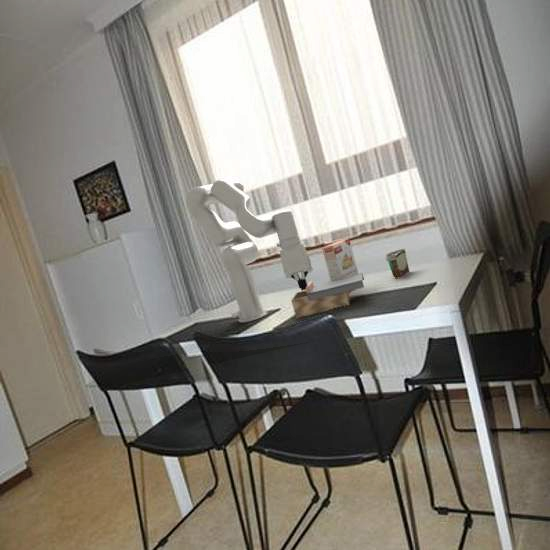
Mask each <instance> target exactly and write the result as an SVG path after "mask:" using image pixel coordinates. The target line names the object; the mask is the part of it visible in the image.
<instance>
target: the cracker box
mask: <svg viewBox="0 0 550 550" xmlns="http://www.w3.org/2000/svg"><path fill="white" fill-rule="evenodd" d="M352 248H353V247H352V243H351V239H349V238H347V239H346V238H345V239H342V240H338V241H335V242H333V243H330V244H328V245H326V246H324V247H322V253H323V256H324V261H325V264H326V268H327V271H328V276H329V279H330V281H333V280H337V279H341V278H345V277H349V276H353V275H357V274H359V271H358V267H357V264H356V260H355V255H354V253H353V252H354V251H353V249H352ZM351 291H352V292H353V290H350V291H349V294H350V293H352V292H351Z"/></svg>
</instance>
